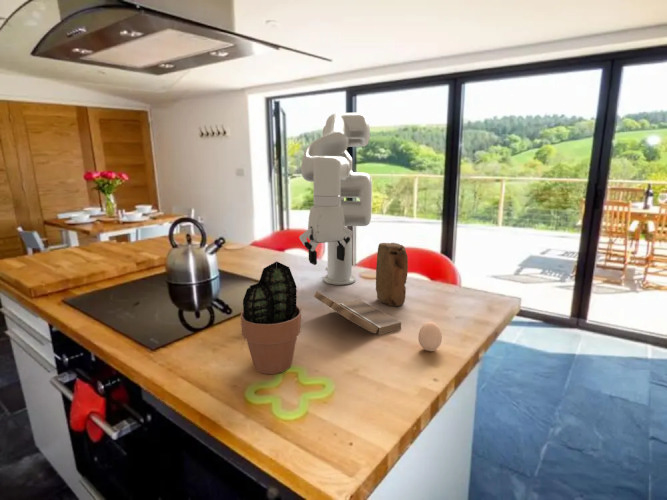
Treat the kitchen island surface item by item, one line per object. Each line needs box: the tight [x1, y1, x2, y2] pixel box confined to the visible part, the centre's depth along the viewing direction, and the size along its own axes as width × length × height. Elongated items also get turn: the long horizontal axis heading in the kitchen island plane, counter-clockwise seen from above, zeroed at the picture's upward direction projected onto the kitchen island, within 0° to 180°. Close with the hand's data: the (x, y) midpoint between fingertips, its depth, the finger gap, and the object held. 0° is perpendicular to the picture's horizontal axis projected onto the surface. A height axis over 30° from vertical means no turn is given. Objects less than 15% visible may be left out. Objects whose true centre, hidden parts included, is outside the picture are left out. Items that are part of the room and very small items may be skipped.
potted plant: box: [240, 261, 302, 375], centre depth 88 cm, size 14×14×25 cm
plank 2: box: [330, 301, 378, 335], centre depth 108 cm, size 10×10×2 cm
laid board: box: [339, 299, 402, 335], centre depth 118 cm, size 21×8×2 cm, turn 30°
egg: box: [418, 321, 443, 352], centre depth 98 cm, size 6×6×8 cm
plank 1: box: [312, 290, 352, 312], centre depth 117 cm, size 10×10×2 cm
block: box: [375, 242, 409, 307], centre depth 129 cm, size 11×8×20 cm
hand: (327, 261), depth 112 cm, fingers open, 8 cm apart
